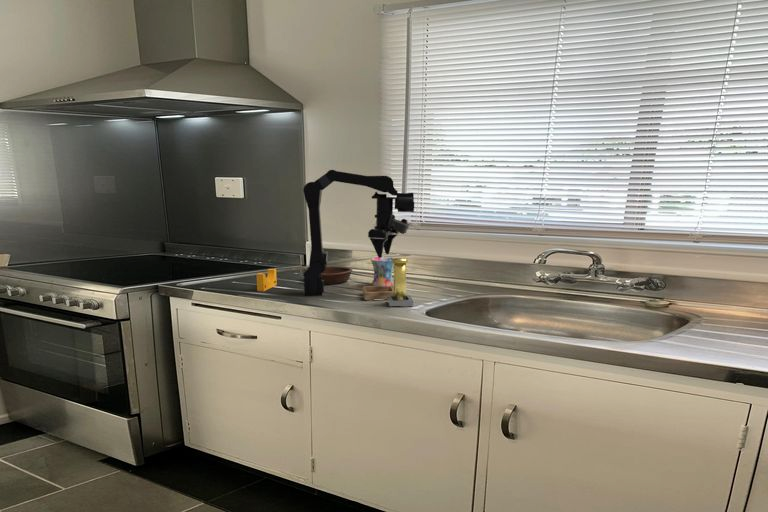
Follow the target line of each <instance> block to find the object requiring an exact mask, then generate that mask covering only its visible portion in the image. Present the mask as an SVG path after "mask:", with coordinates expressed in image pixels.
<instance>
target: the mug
mask: <svg viewBox="0 0 768 512" xmlns="http://www.w3.org/2000/svg"><path fill="white" fill-rule="evenodd" d="M393 258H394V257H387V256H385V257H383V256H382V257H381V258H379V257H378V256H377V257H372V258H370V261H371V263H372V267H373V273H374V274H373V275H374V276H373V280H372V282H371V286H393V287H394V279H393V275H392V274H393V273H394V263H393V262H392V259H393Z"/></svg>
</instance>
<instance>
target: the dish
mask: <svg viewBox="0 0 768 512" xmlns="http://www.w3.org/2000/svg"><path fill="white" fill-rule="evenodd" d="M352 272H353V269H352V268H350V267H343V266H342V267H341V266H327V267H326V269H325V270H324V272H323V273H321V275H320V276H322V280H324V285H337V284H338V285H339V284H343V283H346V282H348V281H349V279H350V277H351V274H352Z"/></svg>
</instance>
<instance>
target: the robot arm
mask: <svg viewBox="0 0 768 512" xmlns="http://www.w3.org/2000/svg"><path fill="white" fill-rule="evenodd" d="M334 182H337V183H338V182H339V183H344V184H349V185H355V186H363V187H367V188H370V189H373V190H374V191H375V190H376V191H375V193H374V194H373V195H371V199H375V200H376V214H374V218H375V219H376V221H375V223H376V225H375V226H374V228H371V229H370V230H368V232H367V237H368V238H369V240H370V242H371V244H372V247H373V248H374V250H375V253H376V255H377V257H379V258H381V257H383V253H384V252H385V254H386V255H389V254H390V250H391V247H392V244H393V241H394V240H395V238H397V237H398V235H399V234H402V235H404V234H407V231H408V229H409V228H410V224H409V223H408V220H407V219H405V218H402V219H401V220H400V219H396V216H395V214H394V211H393V210H397V212H398V213H414V212H415V199H414V195H415V193H414V192H398V190H397V189H396V188H395V187H394V180H393V179H392V177H390V176H388V175H363V174H357V173H351V172H344V171H339V170H338V171H337V170H335V169H329V170H328V171H327V172H326V173H325V174H322V176H320V177H319V178H317V179H316V180H314V181H310V182H307V183H305V185H304V186H303V190H302V191H303V195H304V199H305V202H306V205H307V209H308V219H309V230H310V231H309V232H310V233H309V234H310V244H311V245H310V246H311V249H310V254H309V255H310V256H309V265H308V267H307V268H306V269H305V270H304V271H303V273H302V275H303V288H304V289H303V291H304V292H303V296H305V297H306V296H310V297H311V296H323V293H324V291H325V284H324V280H322V276H320V275H321V273H323V272H324V270H325V269H326V267H328V265H329V263H330V261H329V251H325V249H324V247H323V235H322V233H323V232H322V220H321V219H322V218H321V203H322V196H323V195H322V193H323V190H325V189H326V188H327V187H328V186H330V185H331V184H333V183H334ZM378 191H379V192H381V193H378ZM387 193H388V194H390V195H392V196H393V197H392V196H387ZM395 196H396V197H395Z"/></svg>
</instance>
